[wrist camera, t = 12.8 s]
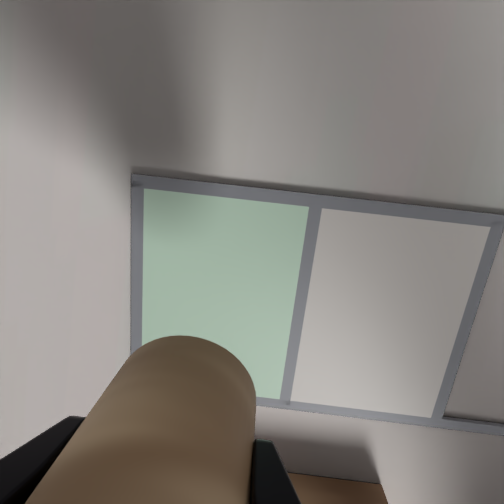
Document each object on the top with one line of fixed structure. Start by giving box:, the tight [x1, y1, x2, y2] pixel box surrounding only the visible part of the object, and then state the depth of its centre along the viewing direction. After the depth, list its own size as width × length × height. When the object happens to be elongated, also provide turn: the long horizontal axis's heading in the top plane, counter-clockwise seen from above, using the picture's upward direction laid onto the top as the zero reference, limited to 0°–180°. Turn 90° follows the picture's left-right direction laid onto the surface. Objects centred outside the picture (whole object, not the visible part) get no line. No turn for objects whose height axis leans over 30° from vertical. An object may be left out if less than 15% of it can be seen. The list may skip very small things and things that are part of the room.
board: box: [131, 174, 504, 436], centre depth 14 cm, size 22×10×1 cm, turn 84°
